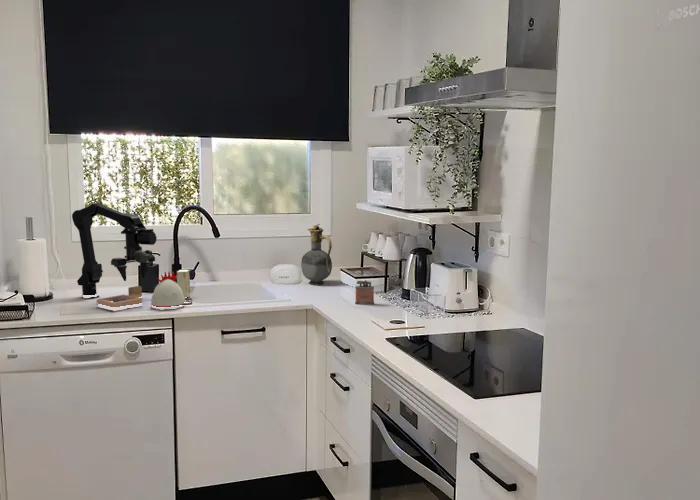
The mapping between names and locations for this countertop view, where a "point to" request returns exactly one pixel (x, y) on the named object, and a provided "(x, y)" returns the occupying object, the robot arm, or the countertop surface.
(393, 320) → the countertop surface
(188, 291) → the skincare box
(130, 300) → the brown square tray
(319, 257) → the pitcher
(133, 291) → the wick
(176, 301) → the grey crested dome
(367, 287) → the lighter
